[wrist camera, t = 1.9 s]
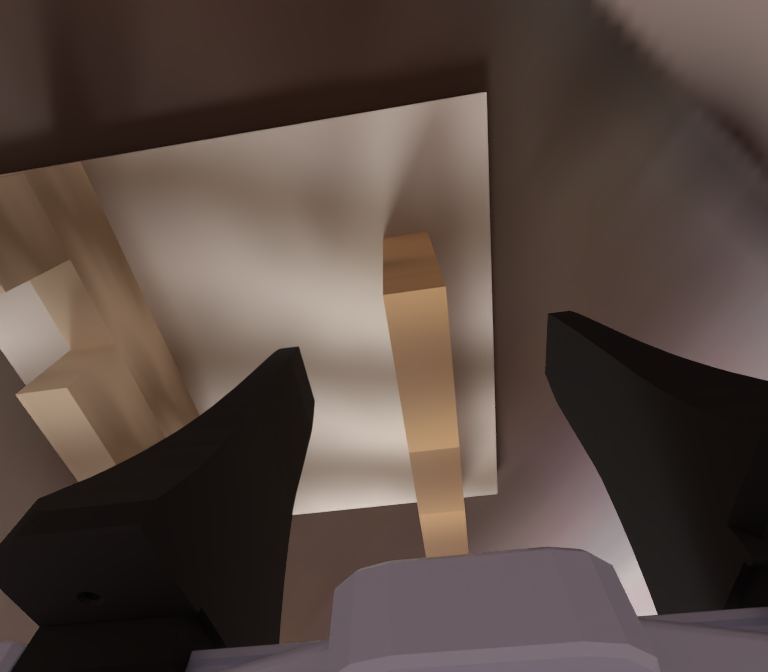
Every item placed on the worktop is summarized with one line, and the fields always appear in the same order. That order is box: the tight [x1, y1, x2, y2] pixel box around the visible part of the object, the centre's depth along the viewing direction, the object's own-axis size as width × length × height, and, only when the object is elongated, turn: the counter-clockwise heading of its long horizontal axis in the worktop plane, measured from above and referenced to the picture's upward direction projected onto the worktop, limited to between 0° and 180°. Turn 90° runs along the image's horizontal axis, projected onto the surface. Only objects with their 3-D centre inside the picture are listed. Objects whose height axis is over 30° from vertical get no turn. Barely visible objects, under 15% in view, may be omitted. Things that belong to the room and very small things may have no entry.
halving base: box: [0, 92, 497, 515], centre depth 16 cm, size 18×20×6 cm
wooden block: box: [383, 232, 468, 558], centre depth 16 cm, size 14×2×5 cm, turn 9°
